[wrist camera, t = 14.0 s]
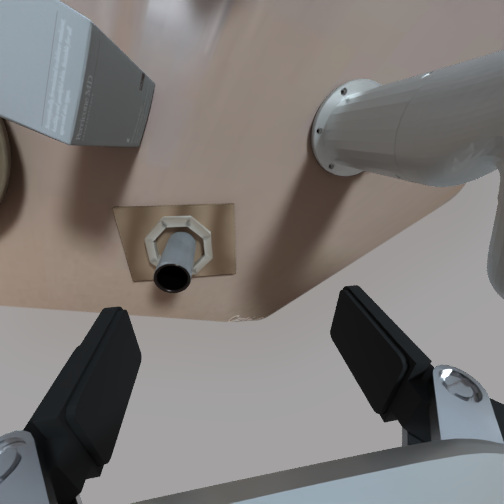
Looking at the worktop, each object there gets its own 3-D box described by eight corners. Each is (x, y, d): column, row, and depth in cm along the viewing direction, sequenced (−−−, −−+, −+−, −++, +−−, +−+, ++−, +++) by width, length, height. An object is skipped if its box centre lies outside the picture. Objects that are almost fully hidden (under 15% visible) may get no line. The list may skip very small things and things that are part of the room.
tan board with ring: (233, 203, 36) (235, 207, 34) (235, 271, 42) (236, 278, 40) (114, 207, 34) (107, 211, 31) (134, 278, 40) (130, 286, 37)
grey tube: (176, 259, 38) (165, 298, 29) (162, 237, 36) (145, 272, 27) (200, 249, 38) (197, 285, 29) (188, 227, 36) (179, 258, 27)
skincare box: (140, 147, 31) (80, 158, 17) (81, 120, 28) (-46, 106, 14) (158, 80, 28) (103, 24, 14) (93, 43, 25) (-51, -69, 11)
